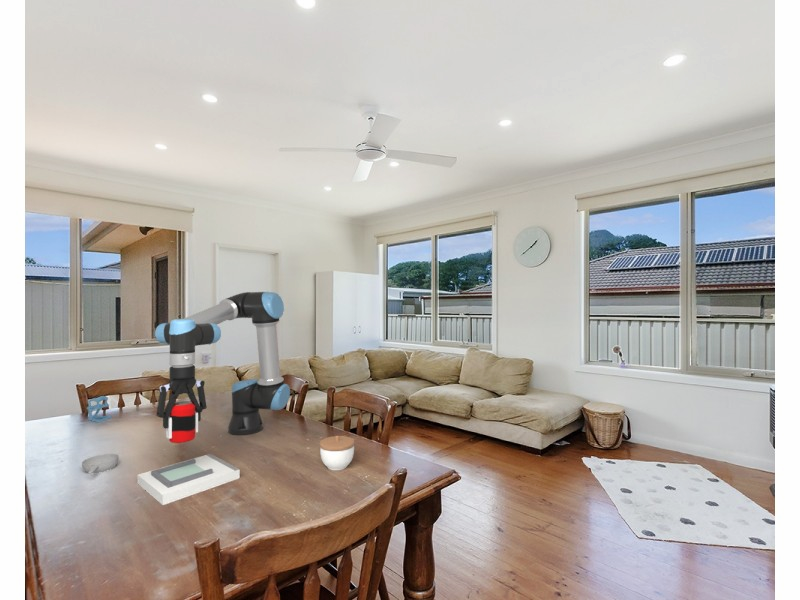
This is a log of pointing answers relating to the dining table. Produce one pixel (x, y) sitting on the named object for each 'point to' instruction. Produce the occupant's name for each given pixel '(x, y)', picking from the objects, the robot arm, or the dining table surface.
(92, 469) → the saucepan
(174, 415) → the soda can
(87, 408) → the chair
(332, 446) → the lidded bowl
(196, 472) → the dock
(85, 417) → the dining table surface
